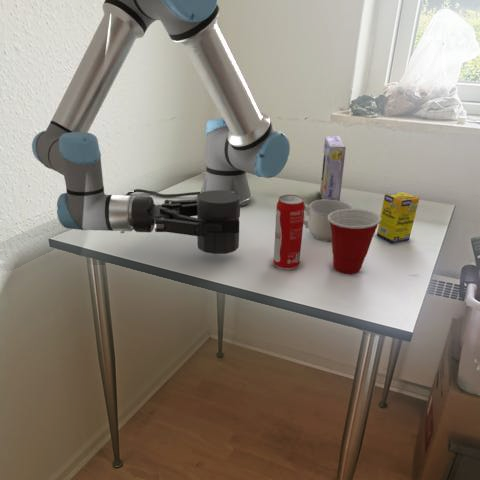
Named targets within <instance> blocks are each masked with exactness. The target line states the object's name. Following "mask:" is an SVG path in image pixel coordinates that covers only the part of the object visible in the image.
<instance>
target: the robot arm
mask: <svg viewBox="0 0 480 480" xmlns="http://www.w3.org/2000/svg"><path fill="white" fill-rule="evenodd" d="M218 2H219V0H104V2H103V4H102V12H103V16H102V19H101V20H100V23H99V24H98V26H97V28H96V30H95V32H94V34H93V36H92V39H91V40H90V43H89V44H88V46H87V49H86V50H85V53H84V54H83V57H82V58H81V60H80V62H79V65H78V67H77V68H76V70H75V72H74V74H73V76H72V78H71V80H70V82H69V84H68V85H67V89H66V90H65V92H64V94H63V96H62V98H61V100H60V102H59V103H58V106H57V109H56V110H55V112H54V114H53V116H52V117H51V120H50V122H49V124H48V126H47V127H46V129H45V130H43V131H42V130H41V131H40V132H38V133H37V134H36V135H35V136H34V137H33V139H32V143H31V150H32V153H33V155H34V157H35V158H36V160H37V161H38V162H39V163H40V164H42V165H43V166H44V167H45V168H47V169H49V170H53V171H55V172H57V173H58V174H60V175H62V176H63V177H64V183H65V190H66V192H63V193H61V194H60V195H59V196H58V198H57V200H56V208H57V209H56V215H57V218H58V221H59V223H60V224H61V226H62V227H64V228H65V229H70V230H80V231H105V232H106V231H107V232H109V231H110V232H120V233H121V234H124V233H125V232H133V231H134V232H136V233H152V232H153V230H154V232H155V233H170V234H176V235H177V234H178V235H186V236H191V237H192V236H193V237H197V236H202V237H205V236H206V231H207V232H217V233H238V232H239V233H240V223H239V221H240V217H241V216H240V215H241V207H244V206H247V205H248V204H250V203H251V202H252V192H251V189H250V185H249V182H248V178H247V174H251V175H253V176H257V177H259V178H265V179H271V178H274V177H276V176H277V175H279V174H280V173H281V172H282V171H283V170H284V168H285V166H286V165H287V163H288V160H289V156H290V153H291V152H290V151H291V145H290V140H289V138H288V136H287V134H285V133H283V132H282V131H278V130H276V129H275V128H274V126H273V123H272V121H271V119H270V117H269V116H268V114H266V113H264V112H260V110H259V108H258V106H257V104H256V102H255V99H254V97H253V95H252V93H251V91H250V88H249V87H248V84H247V83H246V80H245V78H244V76H243V74H242V72H241V69H240V68H239V65H238V63H237V61H236V59H235V57H234V55H233V53H232V49H230V46H229V44H228V42H227V40H226V38H225V36H224V35H225V34H223V31H222V29H221V27H220V25H219V23H218V19H219V15H220V7H219V5H218ZM156 21H160V22H161V24H162V26H163V27H164V30H165V31H166V33H167V34H168V36H169V38H170V39H171V41H172V42H174V43H177V44H181V45H182V47H183V48H184V51H185V52H186V54H187V56H188V57H189V59H190V61H191V63H192V65H193V67H194V69H195V70H196V72H197V74H198V76H199V78H200V79H201V81H202V83H203V85H204V87H205V89H206V90H207V92H208V95H209V96H210V98H211V100H212V101H213V103H214V105H215V107H216V109H217V110H218V112H219V114H220V116H221V117H217V118H211V119H209V120H208V121H207V123H206V127H205V176H204V180H203V182H202V186H201V188H200V191H192V192H181V193H171V194H170V193H169V194H168V193H167V194H165V193H159V192H157V191H153V190H147V189H143V188H135V190H134V189H133V190H134V192H129V191H128V192H127V193H126V194H125V195H124V194H105V185H104V177H103V167H102V159H101V157H102V154H101V150H100V146H99V145H100V144H99V140H98V137H97V136H96V135H95V134H94V133H91V132H89V131H90V129H91V127H92V125H93V123H94V121H95V119H96V117H97V115H98V114H99V111H100V109H101V108H102V106H103V104H104V102H105V101H106V98H107V96H108V94H109V92H110V90H111V88H112V87H113V85H114V82H115V81H116V79H117V77H118V75H119V73H120V71H121V69H122V67H123V65H124V63H125V61H126V59H127V57H128V55H129V54H130V52H131V50H132V47H133V46H134V44H135V42H136V40H137V39H141V38H143V37H144V35H145V34H146V32H147V30H148V29H149V27H150V26H151V25H152V24H153V23H155V22H156ZM215 190H219V191H229V192H233V193H236V194H237V195H239V197H240V206H239V219H216V218H207V222H206V220H202V219H198V218H197V199H184V200H183V199H180V200H179V199H177V200H172V199H164V200H163V201H164V202H163V203H161V204H155V201H154V198H153V197H152V196H149V195H148V196H146V195H135V196H132V195H133V194H134V193H144V194H150V195H154V196H157V197H161V198H178V197H187V196H188V197H189V196H197V195H198V194H200V193H202V192H206V191H215Z"/></svg>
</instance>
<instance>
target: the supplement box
mask: <svg viewBox="0 0 480 480" xmlns="http://www.w3.org/2000/svg"><path fill="white" fill-rule="evenodd" d="M419 201H420V197H418V196H415V195H412V194H410V193H408V192H405V191H401V192H392V193H384V197H383V202H382V207H381V213H380V217H381V221H380V223H379V224H378V225H377V231H376V237H378V238H380V239H382V240H385V241H386V242H388V243H390V244H395V243H400V242H407V241H410V238H411V234H412V230H413V226H414V222H415V219H416V214H417V209H418V205H419V203H420V202H419Z"/></svg>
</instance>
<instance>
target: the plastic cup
mask: <svg viewBox="0 0 480 480" xmlns="http://www.w3.org/2000/svg"><path fill="white" fill-rule="evenodd" d="M380 216H381V214H378V213H377V212H374V211H372V210H368V209H361V208H353V209H343V210H337V211H334V212H331V213H330V214H329V215H328V221H329V222H330V225H331V231H332V241H331V249H332V250H331V252H332V264H333V265H332V266H333V269H334V270H335V271H336V272H338V273H340V274H344V275H345V274H346V275H355V274H358V273H359V272H361V271H360V270H361V269H362V267H363V264H364V261H365V259H366V257H367V254H368V253H369V252H368V251H369V249H370V246H371V243H372V240H373V238H374V235H375V233H376V230H377V229H378V226H379V223H380V221H381V217H380Z"/></svg>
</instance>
